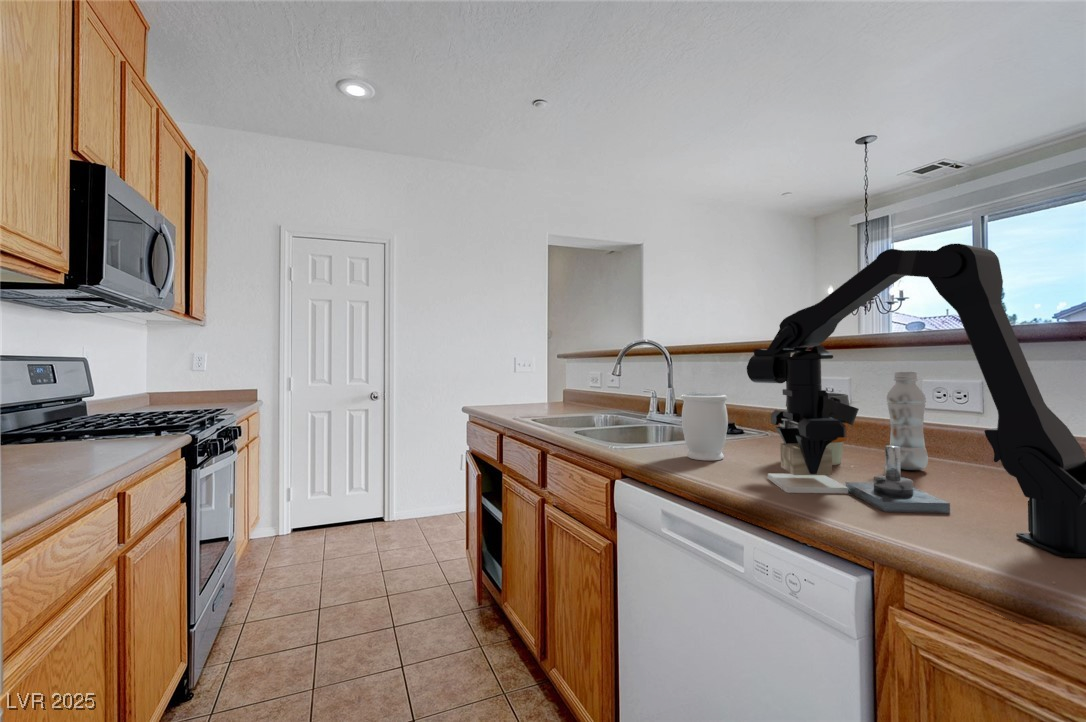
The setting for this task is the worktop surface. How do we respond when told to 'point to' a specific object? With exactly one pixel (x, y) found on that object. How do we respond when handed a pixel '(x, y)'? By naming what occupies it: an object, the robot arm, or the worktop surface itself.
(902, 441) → the plastic bottle
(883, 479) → the post stand
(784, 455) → the collar
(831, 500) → the worktop surface
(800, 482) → the tile pad
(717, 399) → the jar
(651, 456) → the worktop surface
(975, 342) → the robot arm
